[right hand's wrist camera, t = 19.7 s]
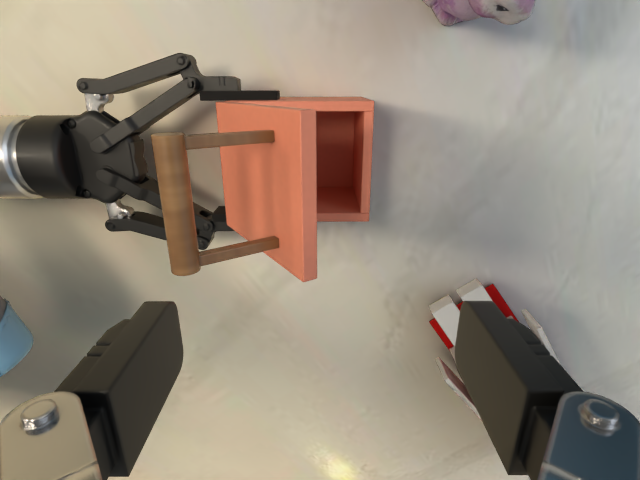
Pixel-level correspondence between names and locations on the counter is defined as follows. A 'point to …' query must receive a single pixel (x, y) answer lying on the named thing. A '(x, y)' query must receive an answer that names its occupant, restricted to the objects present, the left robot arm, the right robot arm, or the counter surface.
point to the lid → (247, 187)
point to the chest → (339, 153)
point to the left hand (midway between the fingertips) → (280, 157)
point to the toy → (448, 326)
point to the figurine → (481, 10)
